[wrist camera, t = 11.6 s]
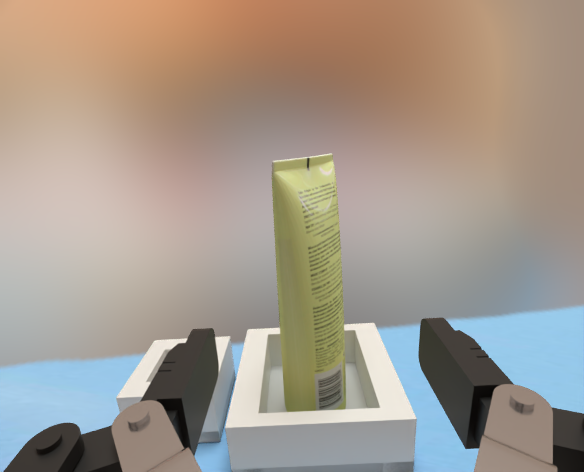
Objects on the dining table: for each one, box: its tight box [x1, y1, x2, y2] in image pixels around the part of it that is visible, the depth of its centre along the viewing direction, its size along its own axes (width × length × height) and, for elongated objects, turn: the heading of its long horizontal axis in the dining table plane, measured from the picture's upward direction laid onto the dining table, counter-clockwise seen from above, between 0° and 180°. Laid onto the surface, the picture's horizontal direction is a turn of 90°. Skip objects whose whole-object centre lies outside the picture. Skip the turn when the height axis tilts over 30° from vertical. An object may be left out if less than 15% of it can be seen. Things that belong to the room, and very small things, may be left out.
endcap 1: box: [116, 336, 235, 443], centre depth 28 cm, size 7×7×4 cm
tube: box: [272, 153, 346, 412], centre depth 24 cm, size 6×5×20 cm
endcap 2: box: [225, 323, 417, 472], centre depth 26 cm, size 12×11×4 cm
